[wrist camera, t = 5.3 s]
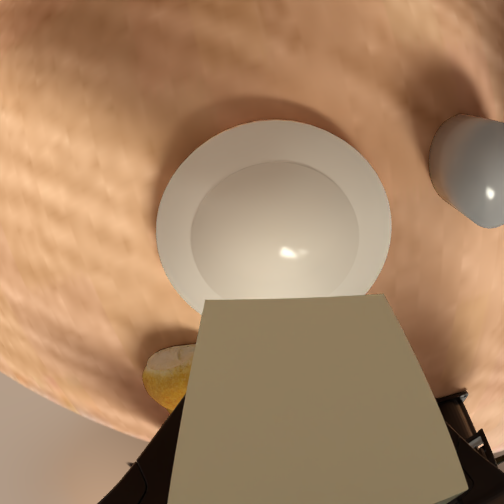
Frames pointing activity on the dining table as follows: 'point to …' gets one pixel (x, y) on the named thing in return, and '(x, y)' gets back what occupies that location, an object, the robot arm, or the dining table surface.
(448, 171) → the grey rounded piece
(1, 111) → the dining table surface
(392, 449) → the sage block
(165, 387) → the bread roll
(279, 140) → the plate
